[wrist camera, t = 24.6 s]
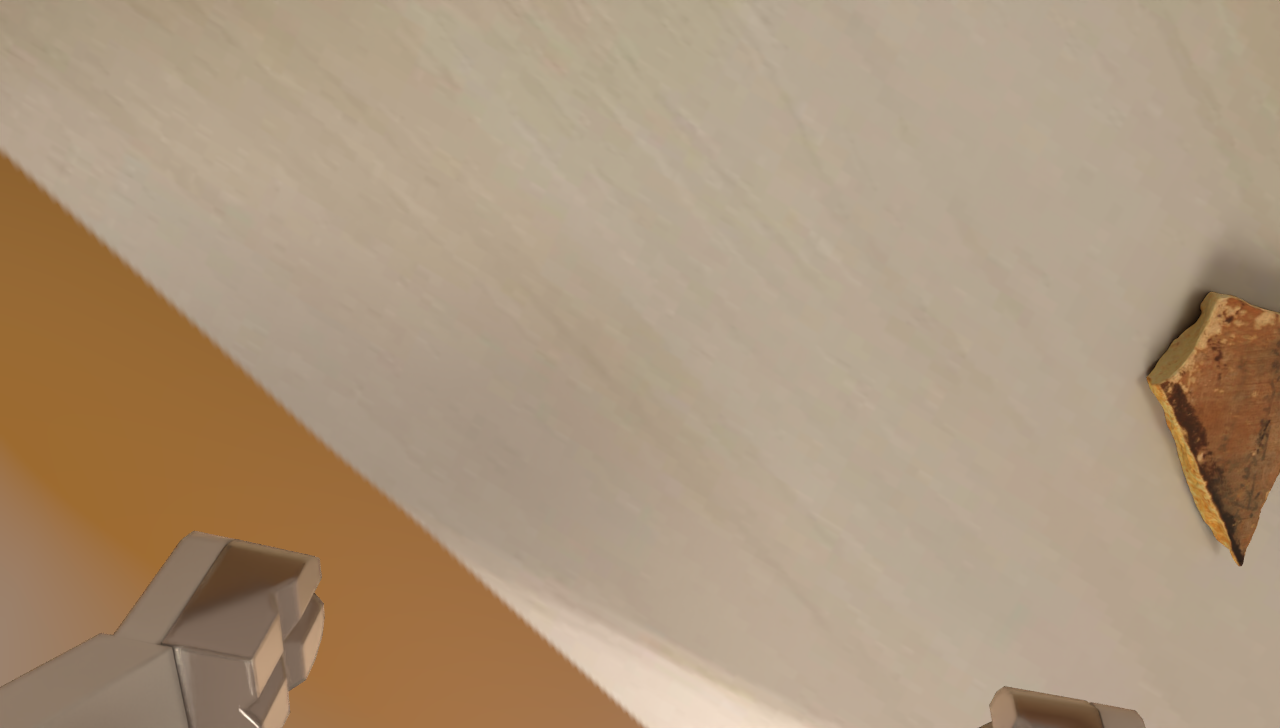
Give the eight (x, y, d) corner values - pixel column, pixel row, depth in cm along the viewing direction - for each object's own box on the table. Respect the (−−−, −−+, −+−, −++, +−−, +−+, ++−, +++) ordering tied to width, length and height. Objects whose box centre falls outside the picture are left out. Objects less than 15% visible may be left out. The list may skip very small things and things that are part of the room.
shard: (1214, 553, 46) (1247, 570, 44) (1079, 524, 43) (1109, 541, 42) (1308, 322, 44) (1346, 331, 42) (1173, 279, 41) (1207, 286, 40)
